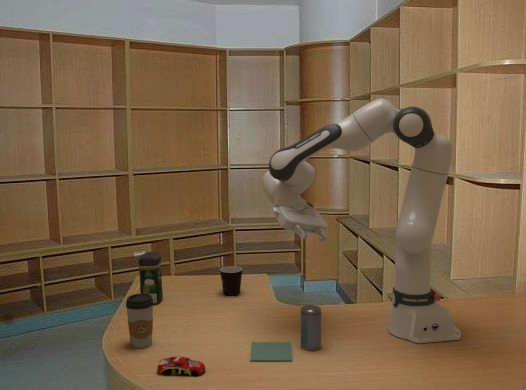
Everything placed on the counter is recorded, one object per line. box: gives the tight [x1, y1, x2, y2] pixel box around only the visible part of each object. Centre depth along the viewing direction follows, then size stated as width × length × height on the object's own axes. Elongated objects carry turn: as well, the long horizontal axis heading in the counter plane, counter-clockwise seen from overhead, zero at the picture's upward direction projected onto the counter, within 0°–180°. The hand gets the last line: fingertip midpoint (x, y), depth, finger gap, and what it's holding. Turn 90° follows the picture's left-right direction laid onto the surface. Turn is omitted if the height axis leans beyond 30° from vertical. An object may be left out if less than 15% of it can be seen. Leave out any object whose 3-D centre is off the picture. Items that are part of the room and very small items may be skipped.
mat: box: [249, 341, 293, 363], centre depth 162 cm, size 12×12×1 cm
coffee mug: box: [219, 265, 243, 297], centre depth 214 cm, size 12×9×10 cm
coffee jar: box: [138, 251, 164, 305], centre depth 205 cm, size 10×8×19 cm
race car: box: [156, 356, 206, 377], centre depth 150 cm, size 13×5×4 cm, turn 84°
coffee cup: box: [125, 293, 155, 349], centre depth 167 cm, size 8×8×15 cm
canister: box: [300, 304, 322, 352], centre depth 165 cm, size 6×6×12 cm
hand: (314, 238), depth 169 cm, fingers open, 8 cm apart
